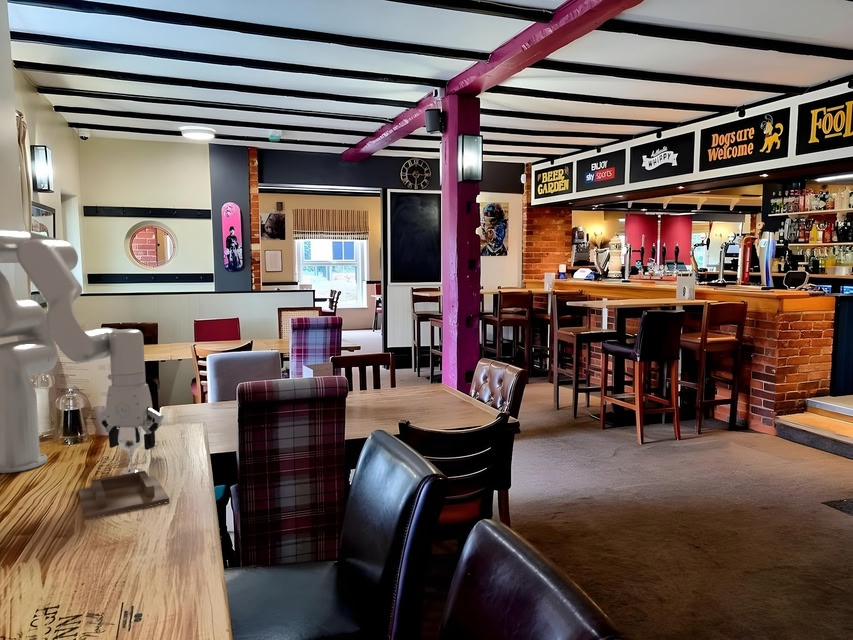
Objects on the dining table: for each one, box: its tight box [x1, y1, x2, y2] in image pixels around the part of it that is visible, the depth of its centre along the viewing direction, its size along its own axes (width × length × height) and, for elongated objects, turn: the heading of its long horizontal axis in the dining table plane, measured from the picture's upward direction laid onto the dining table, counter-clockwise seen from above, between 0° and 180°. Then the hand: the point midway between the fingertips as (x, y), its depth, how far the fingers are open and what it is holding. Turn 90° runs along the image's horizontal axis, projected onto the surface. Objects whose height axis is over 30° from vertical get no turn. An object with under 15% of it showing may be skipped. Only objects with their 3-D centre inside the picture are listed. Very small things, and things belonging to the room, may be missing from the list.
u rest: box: [78, 470, 170, 520], centre depth 133 cm, size 16×16×4 cm
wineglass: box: [117, 426, 144, 475], centre depth 148 cm, size 6×6×12 cm
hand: (132, 447), depth 148 cm, fingers open, 9 cm apart
